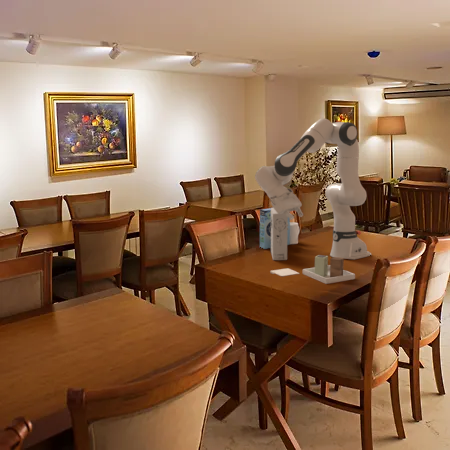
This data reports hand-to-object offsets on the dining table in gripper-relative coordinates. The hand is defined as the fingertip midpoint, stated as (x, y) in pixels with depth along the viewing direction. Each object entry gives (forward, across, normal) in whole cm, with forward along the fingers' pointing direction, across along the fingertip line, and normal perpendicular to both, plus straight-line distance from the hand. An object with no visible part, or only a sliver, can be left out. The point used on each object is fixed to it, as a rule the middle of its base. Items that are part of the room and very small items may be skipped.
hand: (297, 217), depth 236 cm
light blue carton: (-7, +46, +45) cm, 64 cm away
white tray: (+30, 0, +8) cm, 31 cm away
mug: (-4, +61, +42) cm, 74 cm away
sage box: (+27, 0, +10) cm, 29 cm away
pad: (+16, -4, +22) cm, 28 cm away
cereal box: (+2, +27, +36) cm, 45 cm away
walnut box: (+33, 0, +4) cm, 33 cm away
